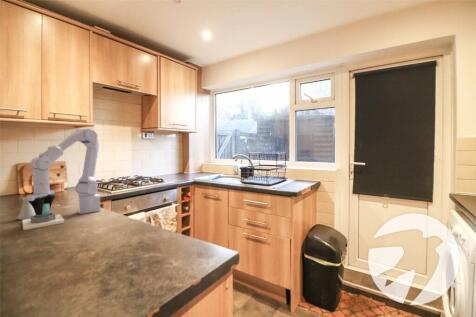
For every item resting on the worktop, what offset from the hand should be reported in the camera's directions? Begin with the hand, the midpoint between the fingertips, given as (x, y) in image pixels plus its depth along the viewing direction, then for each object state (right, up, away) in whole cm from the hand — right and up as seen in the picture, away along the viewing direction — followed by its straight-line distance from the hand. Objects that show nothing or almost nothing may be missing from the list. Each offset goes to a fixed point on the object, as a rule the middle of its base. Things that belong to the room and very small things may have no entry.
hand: (42, 213), depth 111 cm
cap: (0, -2, 0) cm, 2 cm away
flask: (-14, -4, +8) cm, 17 cm away
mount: (0, -4, 0) cm, 4 cm away
